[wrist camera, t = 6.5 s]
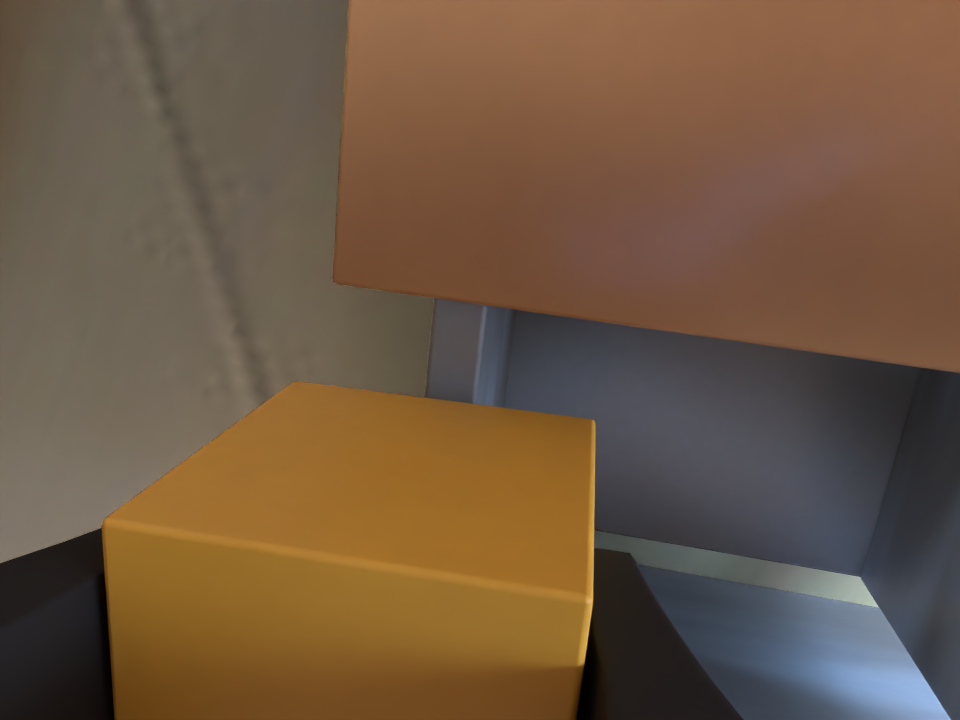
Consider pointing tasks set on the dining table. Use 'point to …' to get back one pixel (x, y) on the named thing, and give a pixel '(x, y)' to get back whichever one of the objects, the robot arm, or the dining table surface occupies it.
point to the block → (359, 566)
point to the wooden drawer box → (663, 166)
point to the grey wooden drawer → (756, 495)
